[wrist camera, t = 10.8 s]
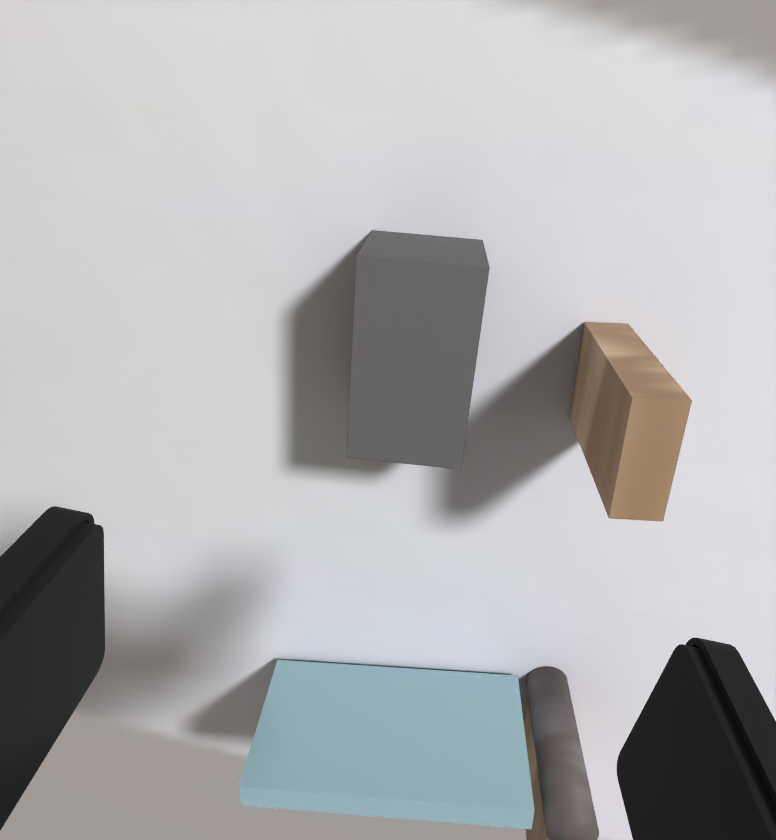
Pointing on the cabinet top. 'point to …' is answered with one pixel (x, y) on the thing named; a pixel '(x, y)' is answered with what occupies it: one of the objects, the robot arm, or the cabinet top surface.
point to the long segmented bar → (623, 499)
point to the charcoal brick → (414, 347)
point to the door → (391, 745)
